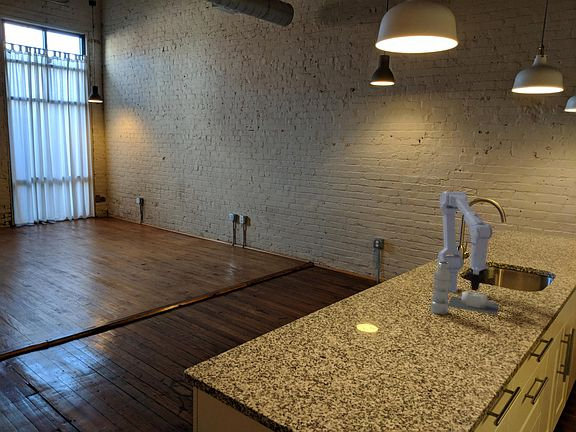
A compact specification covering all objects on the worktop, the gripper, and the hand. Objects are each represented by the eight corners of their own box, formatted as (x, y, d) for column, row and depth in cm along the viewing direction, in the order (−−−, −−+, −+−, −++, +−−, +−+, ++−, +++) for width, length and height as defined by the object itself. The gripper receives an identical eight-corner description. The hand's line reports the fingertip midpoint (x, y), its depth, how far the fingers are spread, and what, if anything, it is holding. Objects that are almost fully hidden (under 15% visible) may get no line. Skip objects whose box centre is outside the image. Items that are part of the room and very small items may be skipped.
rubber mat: (447, 307, 177) (447, 306, 177) (451, 297, 189) (452, 296, 189) (497, 316, 169) (497, 315, 169) (498, 305, 181) (498, 304, 181)
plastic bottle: (433, 309, 174) (438, 259, 171) (450, 313, 170) (455, 262, 167) (427, 313, 169) (431, 262, 166) (444, 318, 165) (449, 266, 162)
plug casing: (460, 304, 179) (461, 293, 178) (461, 301, 183) (462, 290, 182) (492, 310, 174) (493, 299, 173) (493, 306, 178) (494, 295, 177)
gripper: (488, 259, 168) (485, 294, 170) (490, 252, 180) (487, 284, 182) (468, 257, 171) (465, 291, 173) (471, 250, 184) (468, 281, 186)
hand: (475, 287), depth 178 cm, fingers open, 7 cm apart
